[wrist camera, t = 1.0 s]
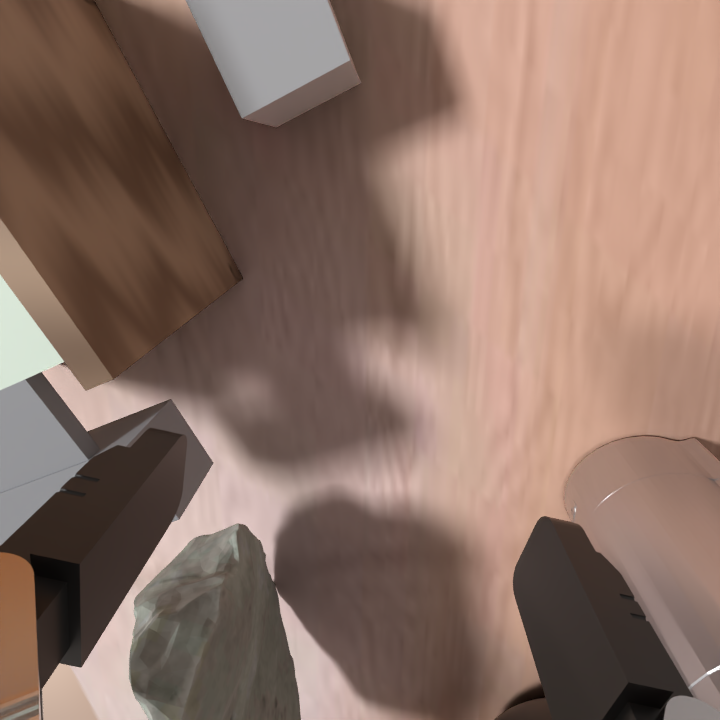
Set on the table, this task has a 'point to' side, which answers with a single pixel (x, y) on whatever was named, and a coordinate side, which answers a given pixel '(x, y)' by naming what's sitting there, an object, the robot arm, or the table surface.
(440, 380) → the table surface
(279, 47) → the gray block
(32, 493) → the trapdoor
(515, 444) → the table surface
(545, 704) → the coal bowl
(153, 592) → the rock
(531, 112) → the table surface
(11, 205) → the wooden bench shelf
